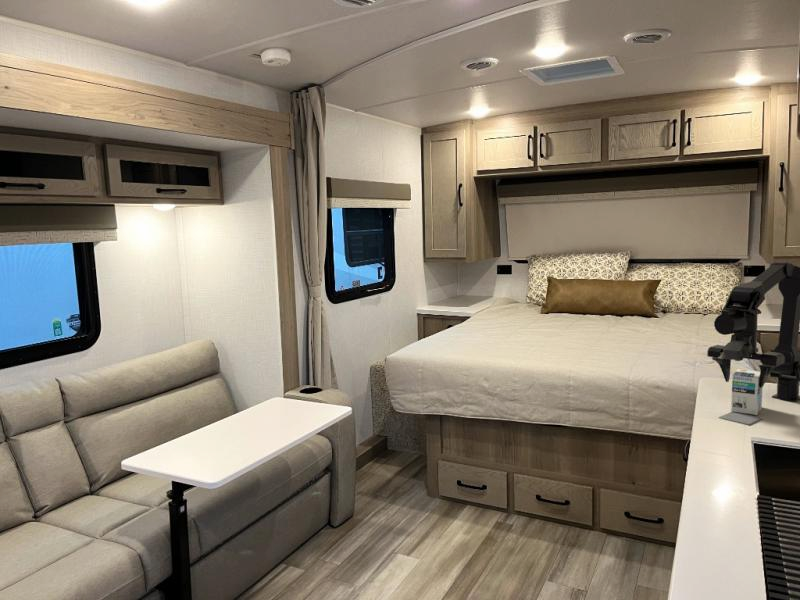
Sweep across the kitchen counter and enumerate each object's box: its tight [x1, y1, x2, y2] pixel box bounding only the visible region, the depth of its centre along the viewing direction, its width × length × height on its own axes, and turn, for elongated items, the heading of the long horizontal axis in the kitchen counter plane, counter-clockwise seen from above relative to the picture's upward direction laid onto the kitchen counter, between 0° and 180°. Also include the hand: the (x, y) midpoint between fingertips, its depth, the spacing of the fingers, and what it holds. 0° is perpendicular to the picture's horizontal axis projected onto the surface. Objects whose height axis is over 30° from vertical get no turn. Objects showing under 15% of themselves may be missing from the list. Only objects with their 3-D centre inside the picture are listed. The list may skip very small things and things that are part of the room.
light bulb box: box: [730, 368, 764, 416], centre depth 174 cm, size 11×7×11 cm, turn 143°
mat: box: [718, 411, 764, 426], centre depth 167 cm, size 8×8×1 cm
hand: (743, 384), depth 173 cm, fingers open, 9 cm apart
